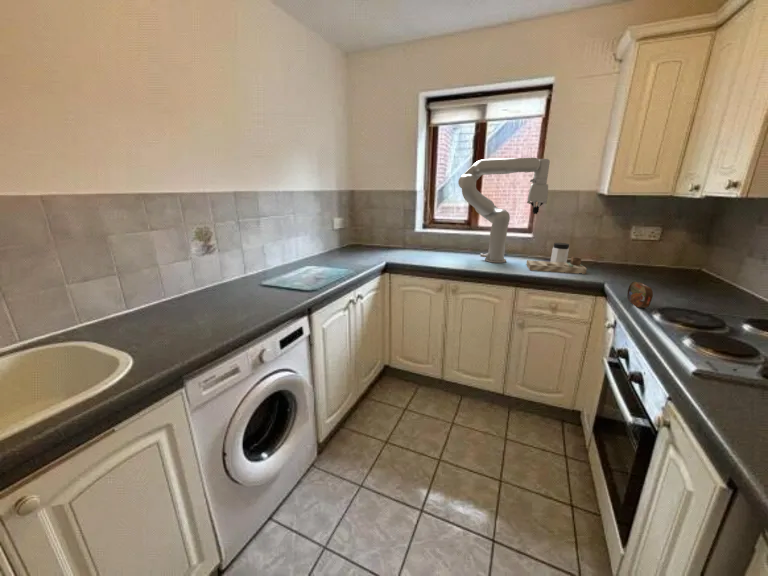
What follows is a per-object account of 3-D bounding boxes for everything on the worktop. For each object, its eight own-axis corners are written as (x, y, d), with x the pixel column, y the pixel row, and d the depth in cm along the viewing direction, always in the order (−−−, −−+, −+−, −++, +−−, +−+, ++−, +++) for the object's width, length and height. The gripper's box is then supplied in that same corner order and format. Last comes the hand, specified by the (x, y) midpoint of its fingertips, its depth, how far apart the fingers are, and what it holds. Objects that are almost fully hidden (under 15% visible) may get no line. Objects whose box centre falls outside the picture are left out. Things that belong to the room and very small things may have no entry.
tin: (625, 298, 137) (629, 278, 134) (633, 299, 136) (638, 279, 134) (640, 310, 123) (646, 289, 121) (650, 311, 122) (656, 290, 120)
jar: (562, 265, 195) (566, 245, 192) (548, 263, 201) (551, 243, 197) (568, 263, 201) (571, 243, 198) (554, 261, 207) (557, 242, 203)
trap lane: (529, 270, 183) (530, 264, 182) (526, 265, 195) (526, 260, 194) (585, 273, 176) (586, 268, 175) (578, 268, 188) (579, 263, 187)
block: (572, 264, 183) (573, 257, 182) (570, 263, 187) (571, 256, 185) (580, 265, 182) (581, 258, 181) (578, 263, 186) (579, 256, 184)
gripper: (527, 181, 189) (522, 213, 195) (555, 181, 186) (550, 214, 191) (525, 181, 196) (521, 213, 202) (552, 181, 193) (547, 213, 198)
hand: (535, 213), depth 196 cm, fingers closed
